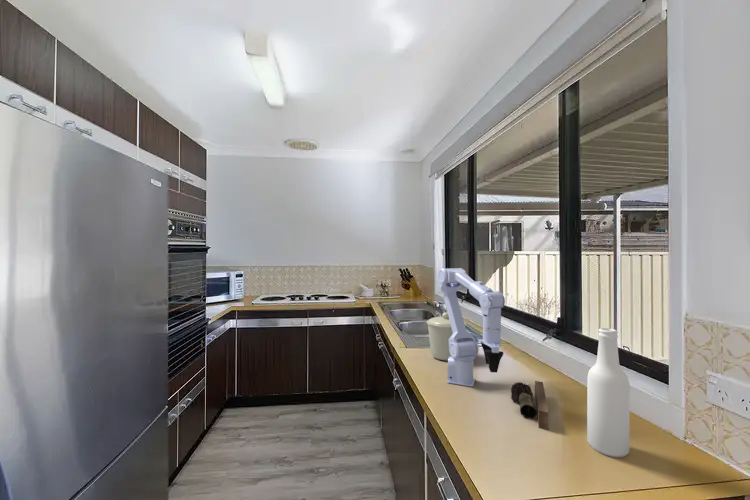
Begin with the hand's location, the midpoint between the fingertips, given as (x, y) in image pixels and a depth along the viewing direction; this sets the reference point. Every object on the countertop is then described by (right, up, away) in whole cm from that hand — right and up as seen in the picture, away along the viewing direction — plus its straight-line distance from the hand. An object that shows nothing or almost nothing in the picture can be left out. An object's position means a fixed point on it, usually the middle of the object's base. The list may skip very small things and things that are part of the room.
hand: (491, 368), depth 114 cm
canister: (-6, -11, +44) cm, 46 cm away
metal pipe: (+9, -11, -5) cm, 15 cm away
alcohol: (+20, -11, -29) cm, 36 cm away
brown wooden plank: (+13, -10, -8) cm, 18 cm away
